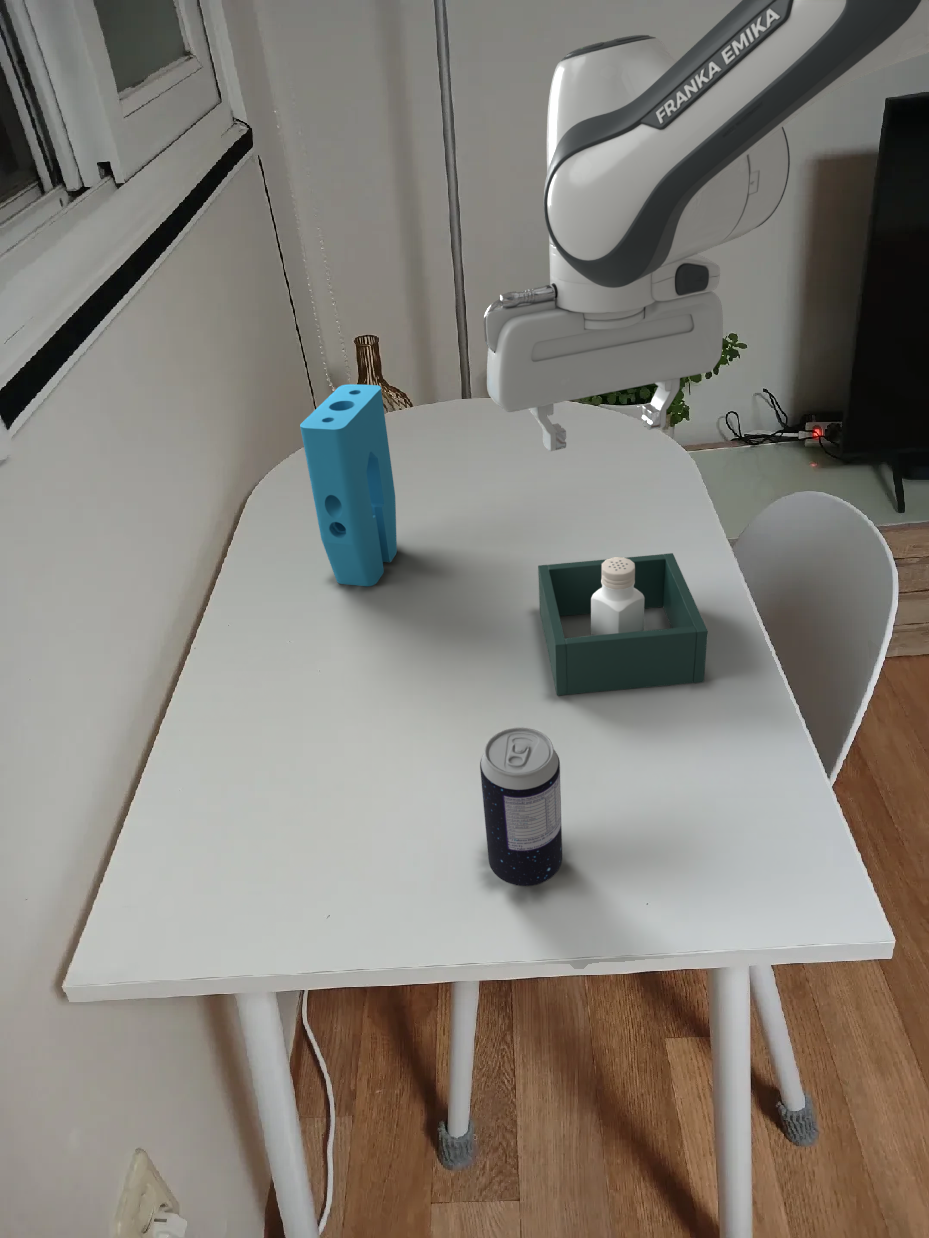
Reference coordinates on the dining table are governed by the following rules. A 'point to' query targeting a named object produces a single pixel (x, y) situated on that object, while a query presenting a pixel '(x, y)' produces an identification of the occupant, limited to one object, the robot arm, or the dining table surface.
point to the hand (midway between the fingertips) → (604, 437)
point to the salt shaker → (617, 600)
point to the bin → (628, 653)
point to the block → (352, 482)
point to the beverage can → (522, 806)
